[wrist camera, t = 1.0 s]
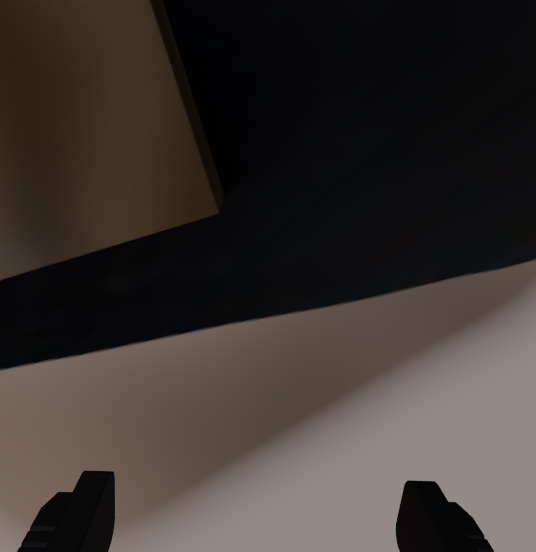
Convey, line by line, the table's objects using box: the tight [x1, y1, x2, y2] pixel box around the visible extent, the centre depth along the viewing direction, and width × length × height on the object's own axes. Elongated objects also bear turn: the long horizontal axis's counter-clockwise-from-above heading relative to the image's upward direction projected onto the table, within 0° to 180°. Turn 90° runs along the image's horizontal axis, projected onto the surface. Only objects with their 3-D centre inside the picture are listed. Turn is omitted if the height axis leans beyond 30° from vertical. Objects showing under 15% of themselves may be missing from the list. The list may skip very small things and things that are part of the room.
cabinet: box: [0, 0, 225, 280], centre depth 27 cm, size 17×14×10 cm
